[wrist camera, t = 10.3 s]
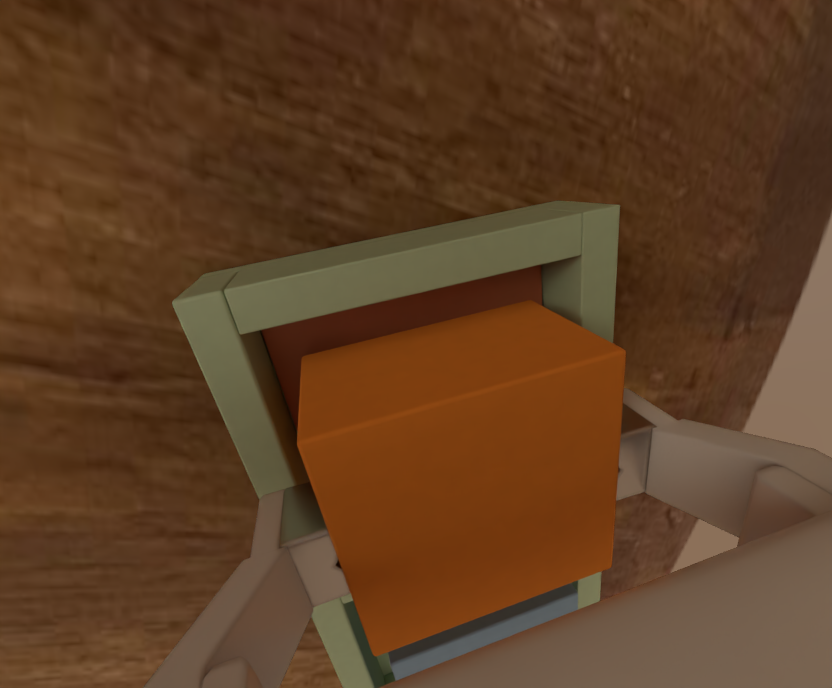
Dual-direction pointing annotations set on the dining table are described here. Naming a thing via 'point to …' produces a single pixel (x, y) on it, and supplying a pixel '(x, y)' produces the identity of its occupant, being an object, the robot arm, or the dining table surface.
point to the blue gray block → (482, 631)
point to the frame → (379, 316)
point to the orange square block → (464, 464)
